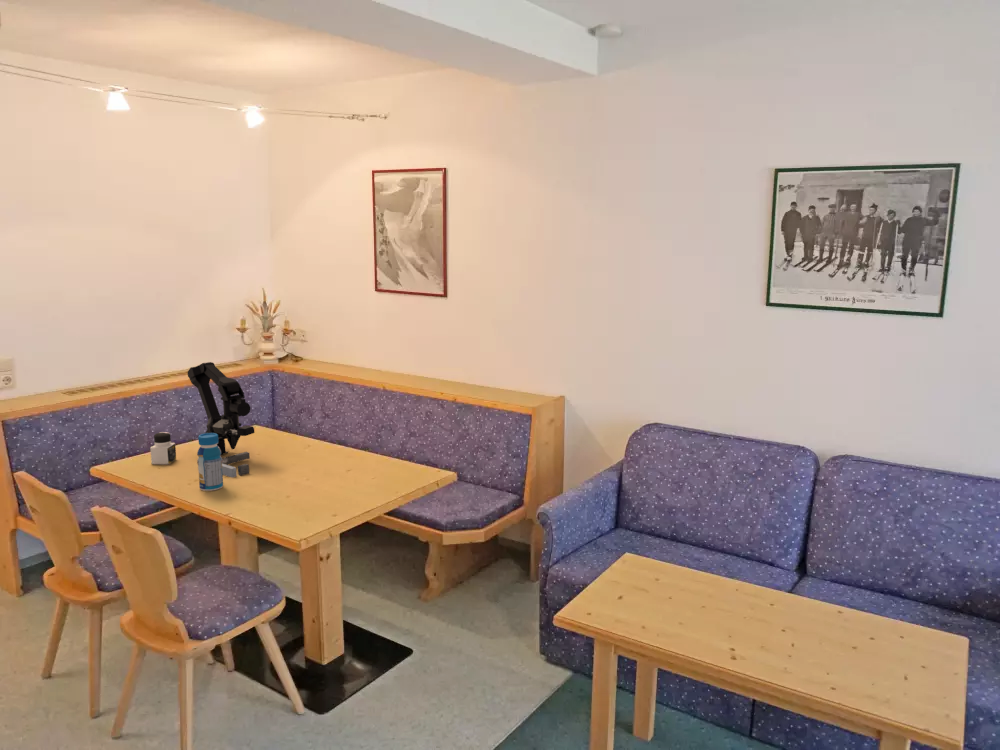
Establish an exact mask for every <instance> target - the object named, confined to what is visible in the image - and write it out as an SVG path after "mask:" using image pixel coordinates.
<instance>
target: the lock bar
mask: <svg viewBox="0 0 1000 750" xmlns="http://www.w3.org/2000/svg"><path fill="white" fill-rule="evenodd" d="M250 456H251V455H250V452H249V451H244V452H240V453H235V454H232V455H229V456H226V457H225V456H224V457H222V464H226V465H228V464H229V465H231V464H234V463H238V462H242V461H245V460H249V459H250V458H251V457H250Z"/></svg>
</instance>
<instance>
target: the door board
mask: <svg viewBox="0 0 1000 750" xmlns="http://www.w3.org/2000/svg"><path fill="white" fill-rule="evenodd" d="M229 465H230V464H229ZM229 465H226V464H222V475H223V476H226V477H229V478H235V477H237V475H238V474H237V467H235V466H234V467H232V466H233V465H232V466H229Z"/></svg>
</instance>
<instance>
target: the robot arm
mask: <svg viewBox="0 0 1000 750" xmlns="http://www.w3.org/2000/svg"><path fill="white" fill-rule="evenodd" d="M187 377H188V379H189V381H190V383H191V384H192V385H193V386H194V387H196V388H197V391H198V393H199V397H200V398H201V402H202V405H203V408H204V411H205V413H206V414H205V415H206V416H207V419H208V420H207V423H206V431H205V433H216V434H218V444H217V445H218V446H219V448H220V450H221V456H222V455H226V454H229V451H227V450H226V440H227V442H228V445H229V447H230V448H231V450H235V449H236V446H237V444H238V442H239V439H240V438H241V437H245V436H249V435H253V434H254V433H255V427H254V426H252V425H242V423H241V422H240V418H239V417H245V416H248V415H249V414H250V412H251V405H250V403H249V402H247V401H246V399H245V397H246V396H245V392H244V391H243V389H242V387H241V384H240V383H239V382H238V381H237V380H236V379H234V378H231V377H227V375H225V374H224V373H223V372H222V371H221V370H220V369H219V368H218V367H217V366H216V365H215V363H214V362H212V361H208V362H203V363H201V364H199V365H197V366H192V367H189V370H187ZM211 381H212V382H213V383H215V385H216V386H217V391H218V392H219V394H220V396H221V398H220V400H221V401H222V405H223V406H222V408H223V414H221V413H220V411H219V408H218V405H217V403H216V400H215V397H214V394H213V391H212V388H211V385H210V382H211Z"/></svg>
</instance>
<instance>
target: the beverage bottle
mask: <svg viewBox="0 0 1000 750" xmlns="http://www.w3.org/2000/svg"><path fill="white" fill-rule="evenodd" d="M197 440H198V445H199V448H198V450H197V453H196V454H197V457H198V458H197V463H196V464H197V466H198V467H197V471H198V481H199V482H198V483H199V489H200V490H201V491H203V492H213V491H218V490H221V489H222V488H223V487H224V482H223V481H224V480H223V479H224V477H223V476H224V475H222V458H223V457H222V455H221V450H220V448H219V446H218V445H217V444H218V434H216V433H206V432H204V433H200V434H199V435H198V439H197Z"/></svg>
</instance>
